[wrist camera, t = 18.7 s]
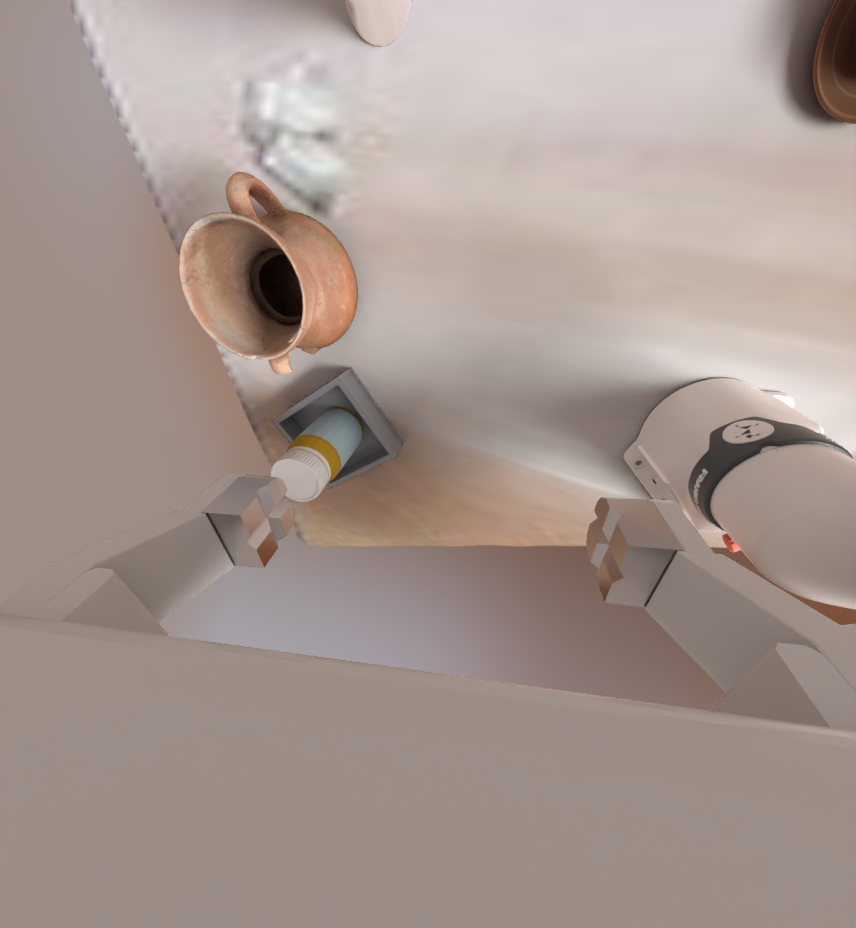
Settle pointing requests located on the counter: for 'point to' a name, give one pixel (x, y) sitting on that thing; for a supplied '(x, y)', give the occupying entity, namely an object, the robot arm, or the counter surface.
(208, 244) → the ceramic jug
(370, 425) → the box
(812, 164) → the counter surface
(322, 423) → the bottle
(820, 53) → the cup and saucer
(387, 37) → the beer glass
